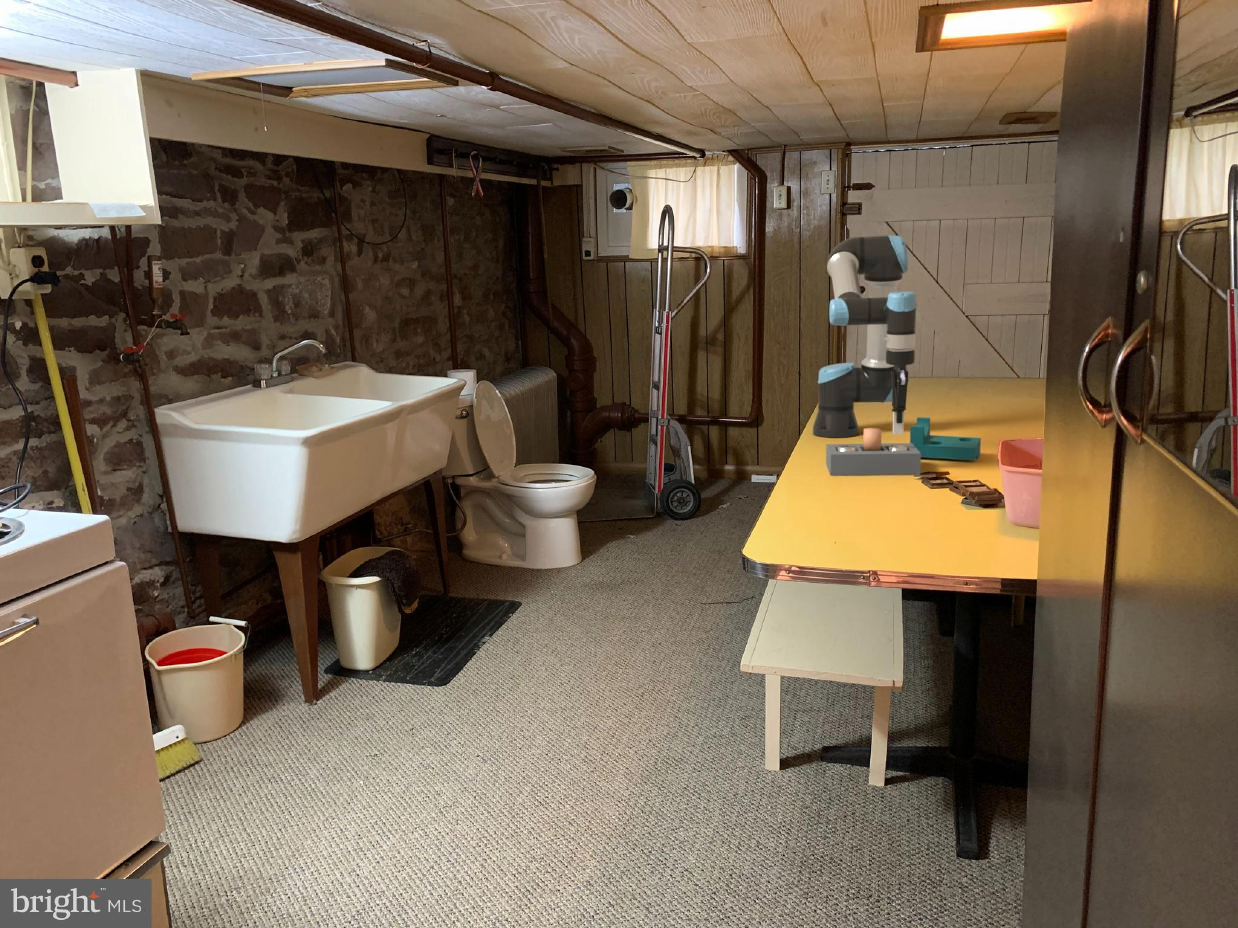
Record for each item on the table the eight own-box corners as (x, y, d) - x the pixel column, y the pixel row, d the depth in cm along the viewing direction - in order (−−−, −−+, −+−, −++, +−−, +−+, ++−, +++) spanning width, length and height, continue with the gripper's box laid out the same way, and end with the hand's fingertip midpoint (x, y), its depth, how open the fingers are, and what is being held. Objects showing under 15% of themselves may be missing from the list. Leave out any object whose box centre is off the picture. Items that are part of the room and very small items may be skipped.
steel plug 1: (836, 466, 269) (837, 445, 268) (854, 466, 268) (854, 445, 267) (838, 470, 264) (838, 449, 263) (856, 470, 264) (856, 448, 262)
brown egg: (862, 449, 267) (862, 428, 266) (879, 449, 266) (880, 427, 265) (864, 453, 262) (864, 431, 261) (882, 452, 262) (882, 430, 260)
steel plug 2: (887, 466, 267) (887, 444, 266) (904, 466, 266) (905, 444, 265) (889, 470, 262) (890, 448, 261) (907, 470, 262) (908, 448, 260)
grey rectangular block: (826, 464, 274) (826, 444, 272) (911, 463, 271) (911, 443, 269) (830, 475, 260) (830, 454, 259) (920, 474, 257) (920, 453, 256)
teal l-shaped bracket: (909, 461, 277) (910, 426, 274) (917, 450, 286) (917, 417, 283) (974, 465, 268) (975, 430, 265) (980, 454, 277) (981, 420, 274)
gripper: (882, 346, 264) (880, 429, 269) (889, 352, 251) (887, 439, 257) (910, 346, 263) (907, 428, 268) (918, 352, 250) (916, 438, 256)
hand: (898, 433), depth 263 cm, fingers closed
